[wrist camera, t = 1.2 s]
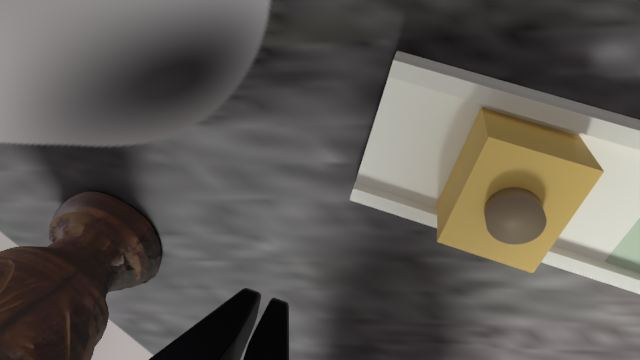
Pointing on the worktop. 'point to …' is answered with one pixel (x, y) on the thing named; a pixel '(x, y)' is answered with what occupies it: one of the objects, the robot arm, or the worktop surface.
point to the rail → (451, 134)
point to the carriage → (514, 189)
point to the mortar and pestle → (73, 278)
